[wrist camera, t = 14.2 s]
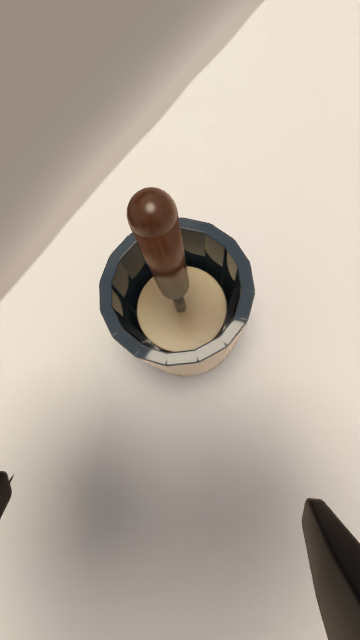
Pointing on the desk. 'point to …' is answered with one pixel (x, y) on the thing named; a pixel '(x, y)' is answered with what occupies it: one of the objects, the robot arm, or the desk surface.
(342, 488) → the desk surface
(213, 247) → the faceted dark-rimmed cup
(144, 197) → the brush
